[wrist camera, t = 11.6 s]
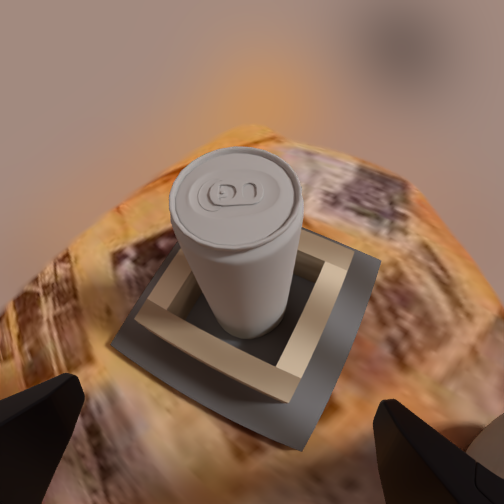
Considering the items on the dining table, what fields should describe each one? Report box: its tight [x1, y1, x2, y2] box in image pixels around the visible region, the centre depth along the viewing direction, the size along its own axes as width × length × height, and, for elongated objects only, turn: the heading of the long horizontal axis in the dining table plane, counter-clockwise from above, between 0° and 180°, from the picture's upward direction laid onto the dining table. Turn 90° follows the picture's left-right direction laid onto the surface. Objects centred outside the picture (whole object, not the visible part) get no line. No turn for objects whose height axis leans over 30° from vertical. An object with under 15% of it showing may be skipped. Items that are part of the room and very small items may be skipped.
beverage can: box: [169, 147, 304, 339], centre depth 15 cm, size 5×5×12 cm
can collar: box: [110, 227, 381, 452], centre depth 19 cm, size 15×15×4 cm
